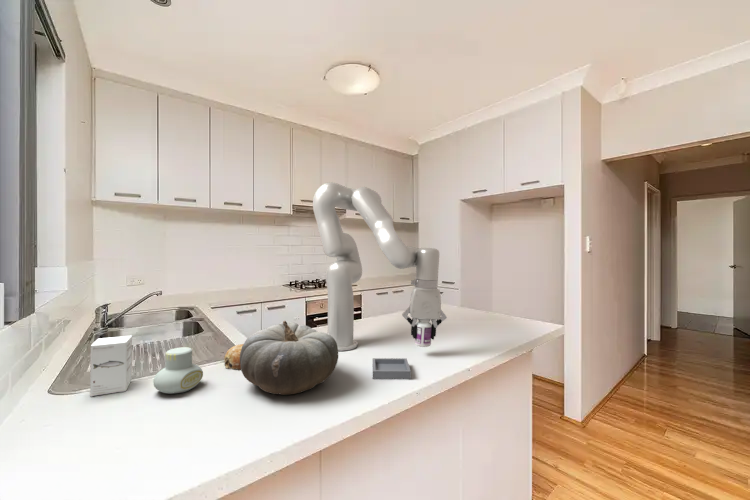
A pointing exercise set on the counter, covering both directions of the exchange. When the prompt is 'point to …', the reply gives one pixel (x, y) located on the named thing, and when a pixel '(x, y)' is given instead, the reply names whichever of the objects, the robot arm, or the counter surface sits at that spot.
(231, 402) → the counter surface
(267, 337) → the gourd
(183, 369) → the air freshener
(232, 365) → the bread roll
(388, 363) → the tray
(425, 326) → the pill bottle
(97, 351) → the supplement box
